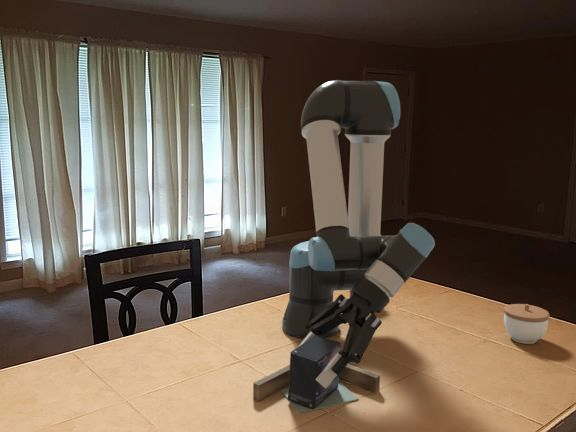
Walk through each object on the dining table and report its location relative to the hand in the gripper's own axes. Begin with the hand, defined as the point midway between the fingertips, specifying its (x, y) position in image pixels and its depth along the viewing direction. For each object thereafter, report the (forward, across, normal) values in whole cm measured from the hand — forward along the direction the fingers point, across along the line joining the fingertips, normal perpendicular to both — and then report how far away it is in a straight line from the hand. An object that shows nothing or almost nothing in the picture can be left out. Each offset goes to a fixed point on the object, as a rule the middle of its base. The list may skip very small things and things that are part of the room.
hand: (307, 371), depth 111 cm
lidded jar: (-42, +6, -50) cm, 66 cm away
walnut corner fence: (+2, 0, -6) cm, 6 cm away
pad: (+2, 0, -6) cm, 7 cm away
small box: (+3, 0, -5) cm, 6 cm away
